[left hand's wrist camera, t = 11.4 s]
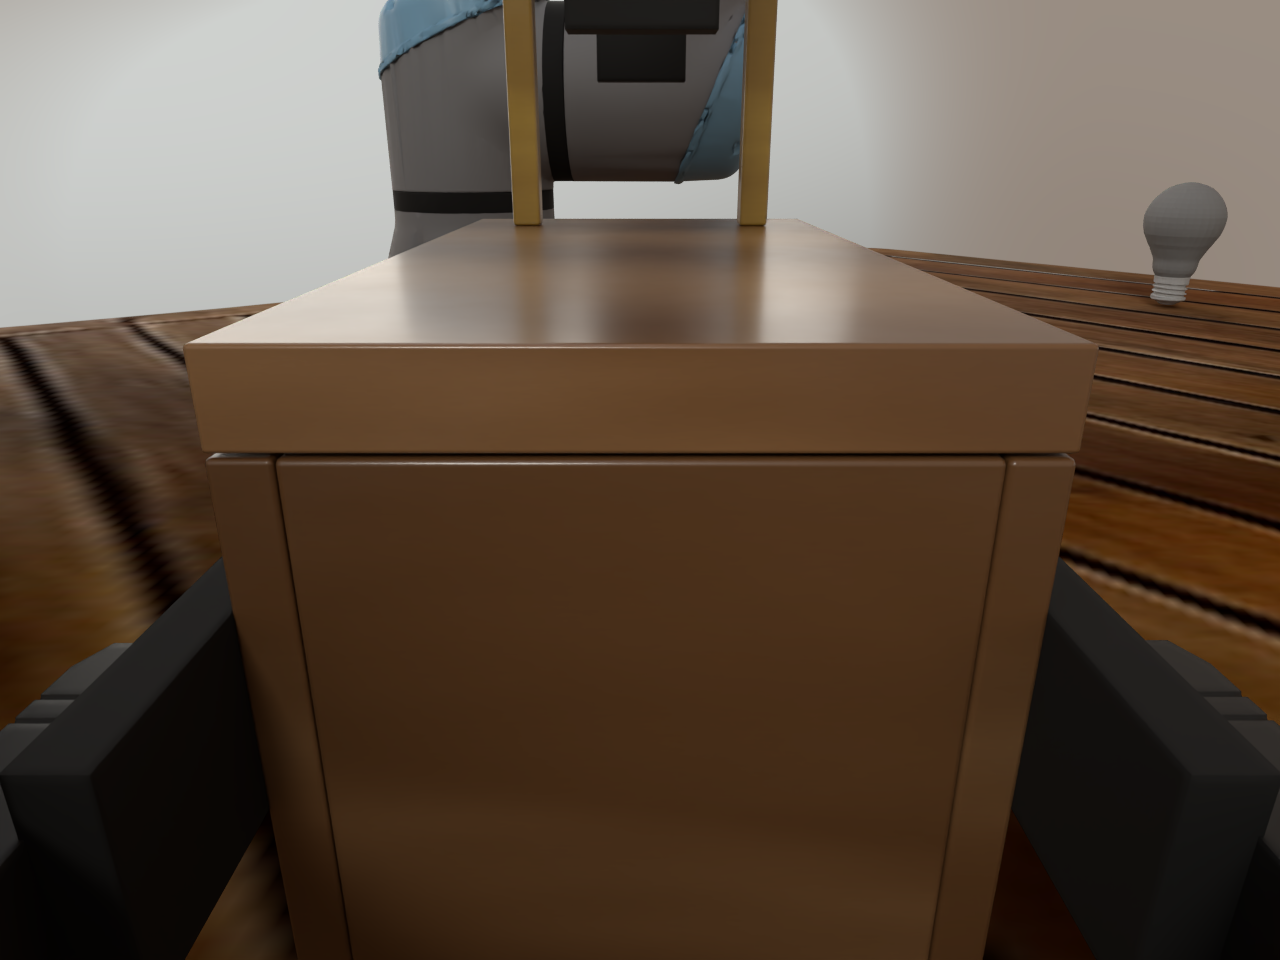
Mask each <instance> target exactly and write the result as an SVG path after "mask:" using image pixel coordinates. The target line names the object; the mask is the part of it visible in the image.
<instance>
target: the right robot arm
mask: <svg viewBox="0 0 1280 960" xmlns="http://www.w3.org/2000/svg"><path fill="white" fill-rule="evenodd" d="M535 24H536V51H537V78H538V105H539V131H540V158H541V185H542V211H543V219H554V199H553V182H554V181H675V182H674V183H676V184H680V183H682V182H683V181H697V180H718V179H724V178H727V177H729V176H731V175H733V174H734V173H735V172H736V171H737V170H738V169H739V157H740V131H741V105H742V78H743V52H744V26H745V0H564V1H549V0H535ZM379 41H380V60H381V63H380V66H379V69H378V72H379V79H380V80H381V81H382V91H383V100H384V110H385V120H386V130H387V140H388V150H389V159H390V169H391V179H392V189H393V197H394V208H395V229H394V234H393V239H392V243H391V248H390V252H389V257H388V259H389V258H391V257H393V256H396V255H398V254H400V253H403V252H405V251H408V250H410V249H412V248H415V247H417V246H419V245H422V244H424V243H427V242H429V241H431V240H434V239H436V238H438V237H441V236H443V235H446V234H448V233H450V232H453V231H455V230H457V229H460V228H462V227H465V226H467V225H469V224H472V223H474V222H477V221H479V220H481V219H513V202H512V182H511V161H510V141H509V120H508V100H507V80H506V59H505V39H504V18H503V0H388V1H387V2H386V3H385V5H384V6H383V8H382V10H381V13H380V17H379Z"/></svg>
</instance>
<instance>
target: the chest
mask: <svg viewBox="0 0 1280 960" xmlns="http://www.w3.org/2000/svg"><path fill="white" fill-rule="evenodd" d="M205 466H206V471H207V477H208V482H209V488H210V493H211V498H212V504H213V509H214V514H215V520H216V525H217V530H218V536H219V541H220V546H221V552H222V557H223V562H224V568H225V573H226V578H227V584H228V589H229V594H230V600H231V605H232V611H233V616H234V621H235V627H236V632H237V637H238V643H239V648H240V653H241V659H242V664H243V669H244V675H245V680H246V685H247V691H248V696H249V701H250V707H251V712H252V717H253V723H254V728H255V734H256V739H257V744H258V750H259V755H260V760H261V766H262V771H263V776H264V782H265V787H266V792H267V798H268V803H269V808H270V814H271V819H272V824H273V830H274V835H275V840H276V846H277V851H278V856H279V862H280V867H281V873H282V878H283V883H284V889H285V894H286V899H287V905H288V910H289V915H290V921H291V926H292V931H293V937H294V942H295V947H296V953H297V958H298V960H983V955H984V950H985V944H986V939H987V934H988V928H989V923H990V918H991V913H992V907H993V902H994V897H995V891H996V886H997V881H998V875H999V870H1000V865H1001V859H1002V854H1003V849H1004V843H1005V838H1006V833H1007V828H1008V822H1009V817H1010V812H1011V806H1012V801H1013V796H1014V790H1015V785H1016V780H1017V774H1018V769H1019V764H1020V758H1021V753H1022V748H1023V743H1024V737H1025V732H1026V727H1027V721H1028V716H1029V711H1030V705H1031V700H1032V695H1033V689H1034V684H1035V679H1036V673H1037V668H1038V663H1039V658H1040V652H1041V647H1042V642H1043V636H1044V631H1045V626H1046V620H1047V615H1048V610H1049V604H1050V599H1051V594H1052V588H1053V583H1054V578H1055V572H1056V567H1057V562H1058V557H1059V551H1060V546H1061V541H1062V535H1063V530H1064V525H1065V519H1066V514H1067V509H1068V503H1069V498H1070V493H1071V487H1072V482H1073V477H1074V472H1075V461H1074V459H1073V458H1071V457H1070V456H1068V455H1067V454H1066V453H215V454H213V455H212V456H211V457H209V458H208V459H207V460H206V464H205Z"/></svg>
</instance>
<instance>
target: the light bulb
mask: <svg viewBox="0 0 1280 960" xmlns="http://www.w3.org/2000/svg"><path fill="white" fill-rule="evenodd" d="M1226 221H1227V208H1226V205H1225V202H1224V200H1223V198H1222V197H1221V196H1220V194H1219V193H1218V192H1217V191H1216V190H1215V189H1213V188H1211V187H1209V186H1207V185H1204V184H1200V183H1192V182H1190V183H1183V184H1179V185H1175V186H1173V187H1170V188H1168V189H1167V190H1165V191H1163V192H1162V193H1161V194H1160V195H1159V196H1157V197H1156V198H1155V199H1154V200H1153V202H1152V203H1151V204H1150V206H1149V207H1148V209H1147V211H1146V213H1145V216H1144V223H1143V228H1144V234H1145V237H1146V239H1147V242H1148V245H1149V247H1150V250H1151V253H1152V256H1153V271H1154V273H1155V275H1154V282H1156V283H1155V284H1153V286H1155V288H1153V289H1152V291H1154V293H1151V296H1150V298H1152V299H1154V300H1155V301H1157V302H1158V303H1160V304H1165V305H1174V304H1176V303H1179V302H1181V301H1184V300H1185V297H1184V295H1186V293H1185V290H1187V289H1186V285H1189V280H1190V277H1191V276H1192V275H1193V274H1194V272H1195V271H1196V269H1197V266H1198V263H1199V261H1200V259H1201V258H1202V256H1203V255H1204V254H1205V253H1206V251H1207V250H1208V249H1209V248H1210V247H1211V246H1212V245H1213V244H1214V242H1215V241H1216V240H1217V239H1218V238H1219V236H1220V235H1221V233H1222V231H1223V229H1224V227H1225V224H1226Z"/></svg>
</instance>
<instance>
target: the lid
mask: <svg viewBox="0 0 1280 960" xmlns="http://www.w3.org/2000/svg"><path fill="white" fill-rule="evenodd" d="M777 1H778V0H745V26H744V52H743V78H742V105H741V131H740V157H739V184H738V209H737V219H543V211H542V185H541V158H540V131H539V105H538V78H537V51H536V24H535V0H503V18H504V39H505V59H506V80H507V100H508V120H509V141H510V161H511V182H512V202H513V219H481V220H479V221H477V222H474V223H472V224H469V225H467V226H465V227H462V228H460V229H457V230H455V231H453V232H450V233H448V234H446V235H443V236H441V237H438V238H436V239H434V240H431V241H429V242H427V243H424V244H422V245H419V246H417V247H415V248H412V249H410V250H408V251H405V252H403V253H400V254H398V255H396V256H393V257H391V258H389V259H386V260H384V261H381V262H379V263H377V264H374V265H372V266H369V267H367V268H365V269H362V270H360V271H358V272H355V273H353V274H350V275H348V276H346V277H343V278H341V279H339V280H336V281H334V282H331V283H329V284H327V285H324V286H322V287H320V288H317V289H315V290H312V291H310V292H308V293H305V294H303V295H301V296H298V297H296V298H294V299H291V300H289V301H286V302H284V303H282V304H279V305H277V306H274V307H272V308H270V309H267V310H265V311H262V312H260V313H258V314H255V315H253V316H251V317H248V318H246V319H243V320H241V321H239V322H236V323H234V324H232V325H229V326H227V327H224V328H222V329H220V330H217V331H215V332H213V333H210V334H208V335H205V336H203V337H201V338H198V339H196V340H194V341H191V342H189V343H186V344H184V347H183V351H184V357H185V362H186V367H187V373H188V378H189V383H190V389H191V394H192V399H193V405H194V410H195V415H196V421H197V426H198V432H199V437H200V442H201V448H202V450H203V452H205V453H1077V452H1079V450H1080V446H1081V441H1082V435H1083V430H1084V425H1085V419H1086V414H1087V409H1088V404H1089V398H1090V393H1091V388H1092V382H1093V377H1094V372H1095V366H1096V361H1097V356H1098V350H1099V348H1098V345H1097V344H1095V343H1093V342H1090V341H1088V340H1085V339H1083V338H1081V337H1078V336H1076V335H1073V334H1071V333H1069V332H1066V331H1064V330H1062V329H1059V328H1057V327H1054V326H1052V325H1050V324H1047V323H1045V322H1042V321H1040V320H1038V319H1035V318H1033V317H1030V316H1028V315H1026V314H1023V313H1021V312H1018V311H1016V310H1014V309H1011V308H1009V307H1006V306H1004V305H1002V304H999V303H997V302H995V301H992V300H990V299H987V298H985V297H983V296H980V295H978V294H975V293H973V292H971V291H968V290H966V289H963V288H961V287H959V286H956V285H954V284H951V283H949V282H947V281H944V280H942V279H939V278H937V277H935V276H932V275H930V274H928V273H925V272H923V271H920V270H918V269H916V268H913V267H911V266H908V265H906V264H904V263H901V262H899V261H896V260H894V259H892V258H889V257H887V256H884V255H882V254H880V253H877V252H875V251H873V250H870V249H868V248H865V247H863V246H860V245H858V244H856V243H853V242H851V241H848V240H846V239H844V238H841V237H839V236H837V235H834V234H832V233H829V232H827V231H825V230H822V229H820V228H817V227H815V226H813V225H810V224H808V223H806V222H803V221H801V220H798V219H767V203H768V183H769V163H770V142H771V122H772V102H773V82H774V62H775V41H776V22H777Z"/></svg>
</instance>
